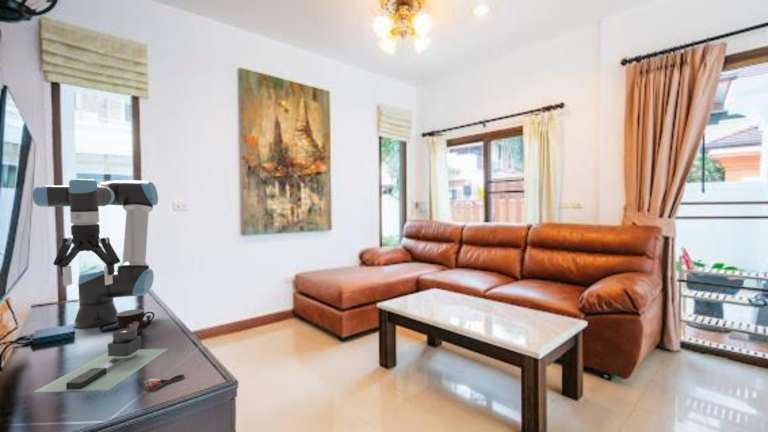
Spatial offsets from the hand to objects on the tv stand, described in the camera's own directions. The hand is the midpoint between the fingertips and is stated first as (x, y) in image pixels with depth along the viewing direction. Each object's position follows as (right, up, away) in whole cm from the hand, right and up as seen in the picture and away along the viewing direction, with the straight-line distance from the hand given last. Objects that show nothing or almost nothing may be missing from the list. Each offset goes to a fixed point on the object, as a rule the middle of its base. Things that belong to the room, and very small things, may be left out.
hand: (88, 284), depth 123 cm
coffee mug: (+7, -23, +13) cm, 28 cm away
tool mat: (+18, -23, -14) cm, 33 cm away
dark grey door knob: (+18, -21, -7) cm, 28 cm away
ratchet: (+18, -23, -15) cm, 33 cm away
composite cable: (+42, -24, -24) cm, 54 cm away
